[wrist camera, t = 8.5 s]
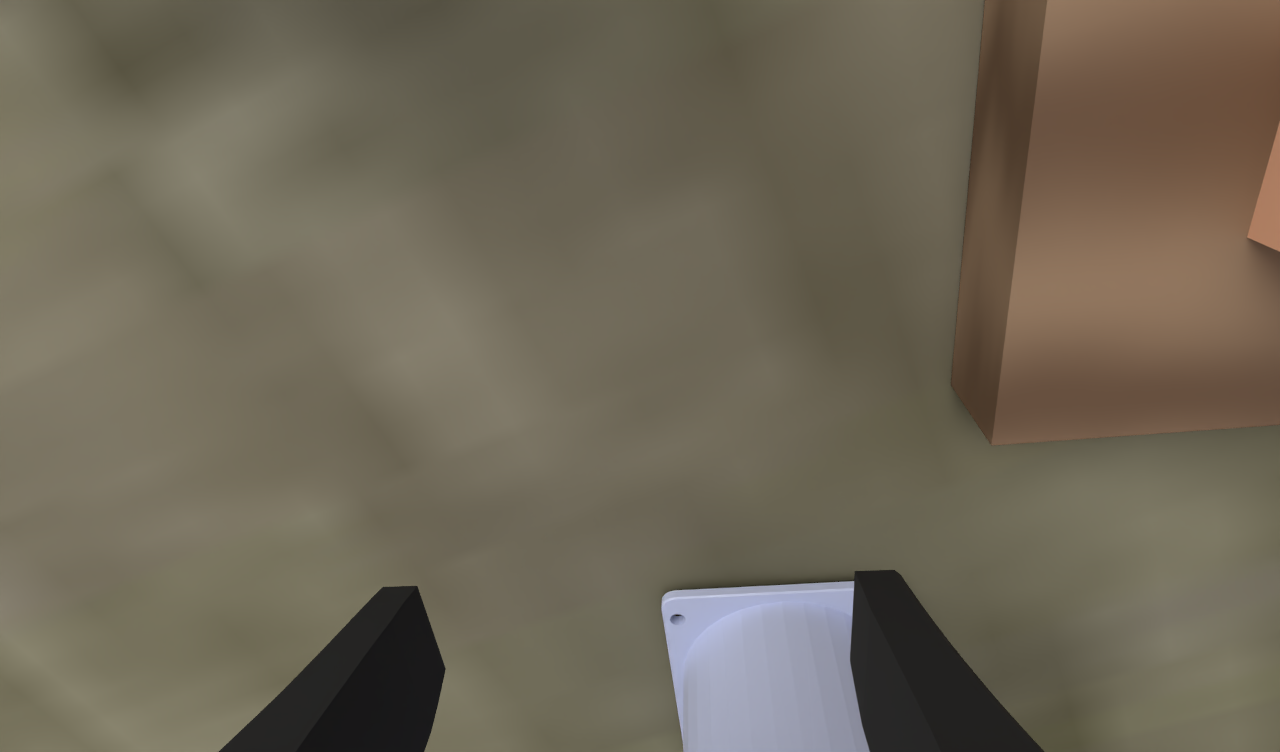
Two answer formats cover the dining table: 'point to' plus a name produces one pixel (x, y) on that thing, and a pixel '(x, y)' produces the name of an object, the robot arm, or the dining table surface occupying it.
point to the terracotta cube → (1268, 203)
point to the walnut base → (1120, 220)
